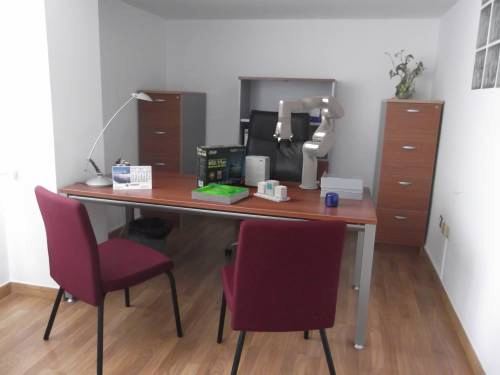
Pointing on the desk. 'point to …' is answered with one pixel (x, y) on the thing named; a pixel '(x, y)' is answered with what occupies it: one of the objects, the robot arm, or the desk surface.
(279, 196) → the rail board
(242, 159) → the router box
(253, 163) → the hard drive box
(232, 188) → the tray
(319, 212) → the desk surface
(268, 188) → the block
